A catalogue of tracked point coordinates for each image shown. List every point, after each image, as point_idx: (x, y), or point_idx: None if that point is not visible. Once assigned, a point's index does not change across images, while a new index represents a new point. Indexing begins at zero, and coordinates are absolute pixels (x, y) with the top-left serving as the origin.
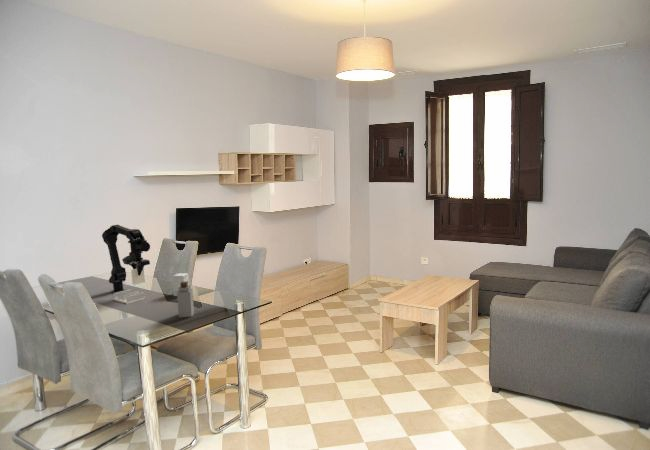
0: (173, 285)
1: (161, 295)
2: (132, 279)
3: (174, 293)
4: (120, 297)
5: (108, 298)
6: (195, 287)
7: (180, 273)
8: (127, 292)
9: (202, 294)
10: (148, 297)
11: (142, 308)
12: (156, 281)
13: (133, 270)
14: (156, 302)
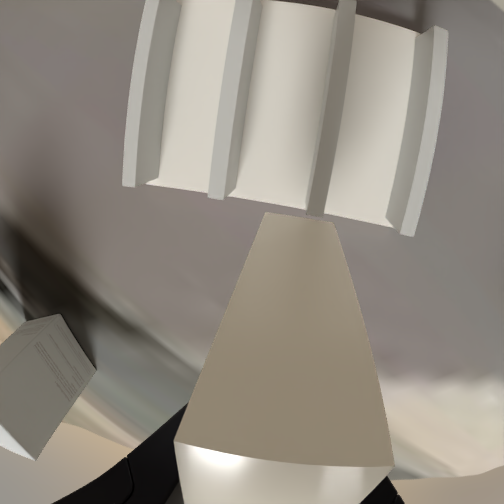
0: (17, 353)
1: (126, 301)
2: (333, 254)
3: (47, 321)
4: (333, 28)
5: (491, 69)
6: (125, 442)
7: (19, 452)
8: (325, 107)
9: None
10: (163, 223)
11: (14, 40)
12: (416, 468)
13: (182, 433)
14: (25, 162)
